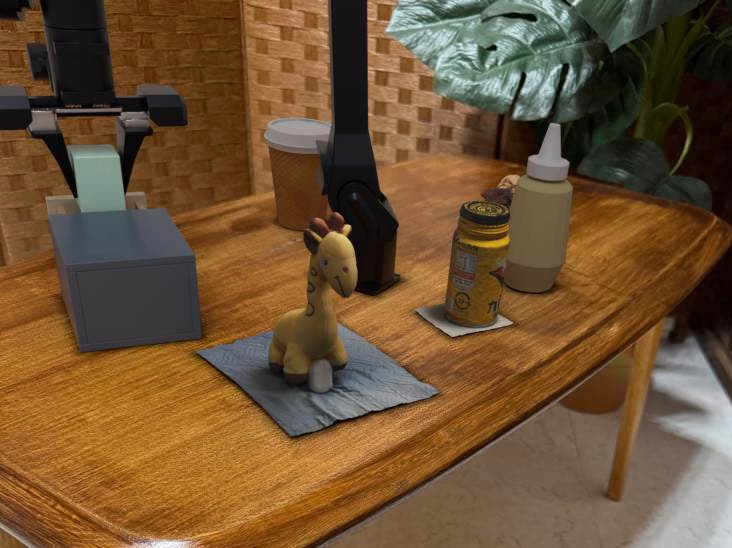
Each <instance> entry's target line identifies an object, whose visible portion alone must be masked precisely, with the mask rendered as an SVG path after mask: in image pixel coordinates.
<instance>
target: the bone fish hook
mask: <svg viewBox="0 0 732 548" xmlns="http://www.w3.org/2000/svg"><path fill="white" fill-rule="evenodd" d="M520 177H521V176H520V175H518V174H508V175H506V176H504V177H503V178H502V179H501V181H500V182H499V184H498V185H497V187H496V188H492V189H491V188H486V189H482V190H481V191H480V196H481V197H482V198H484V201H487V202H494V203H498V204H501V205H503V206H505V207H506V208H507V209H508V210H510V206H511V202H512V198H513V194H514V190H515V186H516V182H517V179H519V178H520Z"/></svg>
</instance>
